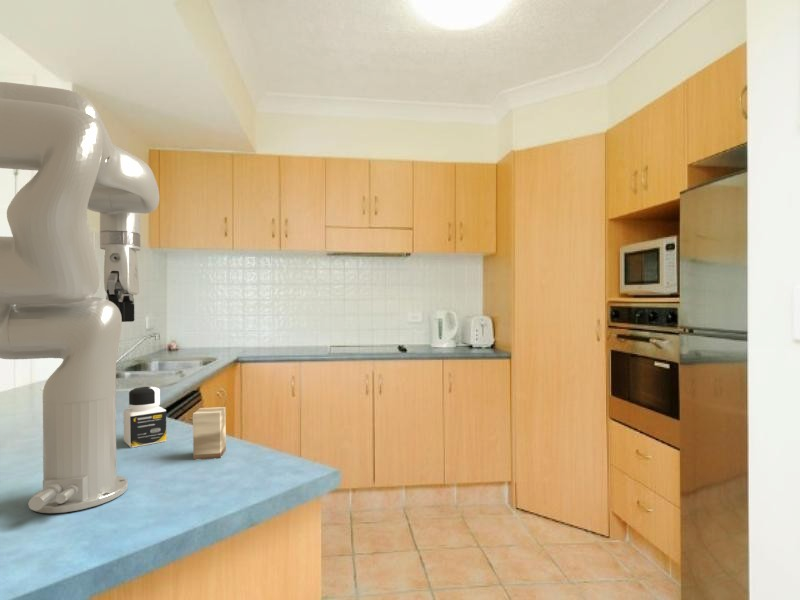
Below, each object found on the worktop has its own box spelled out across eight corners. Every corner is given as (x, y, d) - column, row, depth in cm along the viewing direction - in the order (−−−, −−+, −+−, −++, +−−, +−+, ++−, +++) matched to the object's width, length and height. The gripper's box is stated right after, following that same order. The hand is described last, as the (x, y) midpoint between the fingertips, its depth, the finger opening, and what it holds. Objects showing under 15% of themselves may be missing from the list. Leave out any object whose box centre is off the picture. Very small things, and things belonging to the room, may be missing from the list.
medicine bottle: (130, 448, 98) (130, 391, 99) (123, 441, 104) (122, 387, 104) (166, 441, 103) (166, 387, 103) (158, 435, 108) (157, 383, 109)
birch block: (220, 458, 91) (219, 412, 91) (193, 459, 90) (192, 413, 90) (225, 450, 96) (225, 406, 96) (200, 451, 95) (200, 408, 95)
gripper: (131, 236, 93) (132, 321, 93) (147, 248, 109) (147, 321, 109) (88, 235, 91) (88, 322, 90) (110, 247, 107) (111, 322, 106)
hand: (120, 321), depth 100 cm, fingers open, 9 cm apart
